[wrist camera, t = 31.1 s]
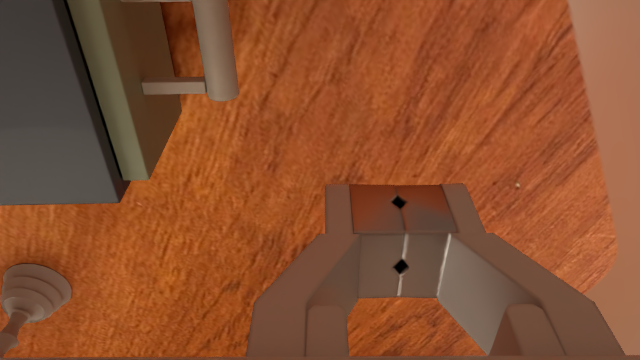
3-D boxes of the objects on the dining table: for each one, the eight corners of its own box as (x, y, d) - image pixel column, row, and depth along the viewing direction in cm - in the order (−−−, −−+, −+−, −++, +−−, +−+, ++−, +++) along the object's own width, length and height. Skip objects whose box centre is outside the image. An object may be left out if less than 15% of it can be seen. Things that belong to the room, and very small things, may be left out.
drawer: (231, -126, 20) (201, -114, 15) (255, 110, 27) (241, 178, 22) (-156, -120, 20) (-329, -106, 15) (-36, 115, 27) (-126, 185, 21)
